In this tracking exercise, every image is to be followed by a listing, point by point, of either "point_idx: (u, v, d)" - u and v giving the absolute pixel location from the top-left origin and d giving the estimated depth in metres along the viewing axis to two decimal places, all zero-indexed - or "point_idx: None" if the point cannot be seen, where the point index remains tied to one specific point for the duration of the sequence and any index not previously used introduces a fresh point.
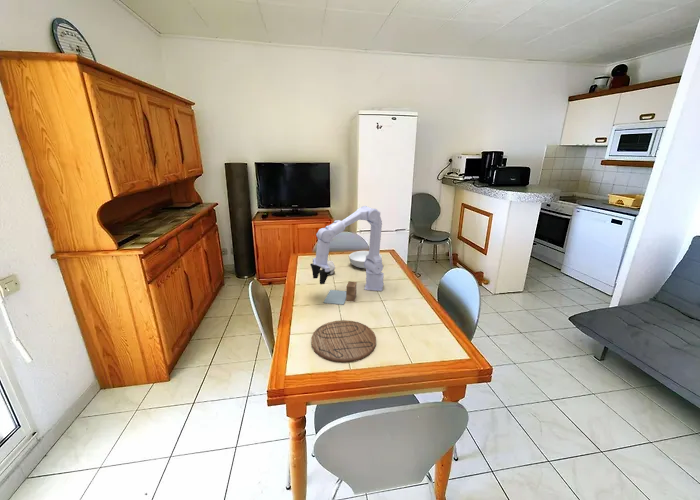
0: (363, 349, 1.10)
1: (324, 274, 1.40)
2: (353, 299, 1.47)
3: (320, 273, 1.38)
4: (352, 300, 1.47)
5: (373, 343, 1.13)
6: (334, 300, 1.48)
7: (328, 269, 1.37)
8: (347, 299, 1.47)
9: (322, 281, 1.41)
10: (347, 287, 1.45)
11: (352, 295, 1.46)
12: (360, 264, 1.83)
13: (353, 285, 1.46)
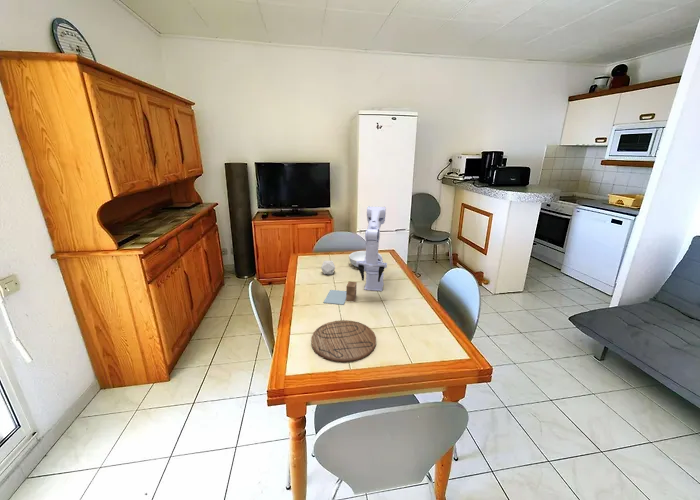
0: (363, 349, 1.10)
1: None
2: (353, 299, 1.47)
3: (381, 271, 1.41)
4: (352, 300, 1.47)
5: (373, 343, 1.13)
6: (334, 300, 1.48)
7: (386, 265, 1.43)
8: (347, 299, 1.47)
9: (379, 278, 1.45)
10: (347, 287, 1.45)
11: (352, 295, 1.46)
12: None
13: (353, 285, 1.46)
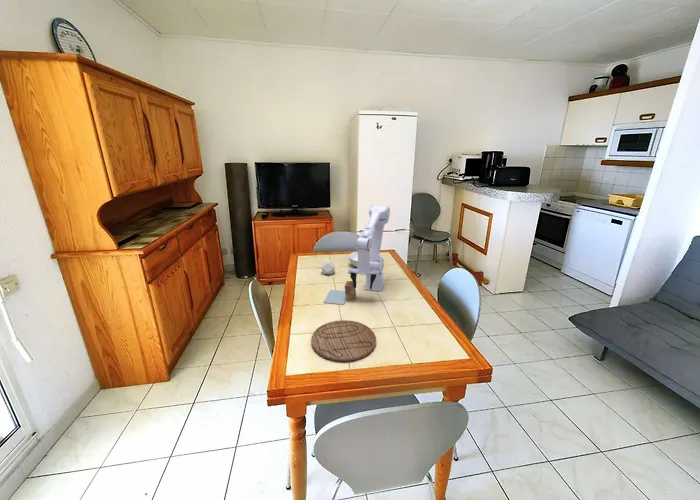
0: (363, 349, 1.10)
1: None
2: (353, 298, 1.47)
3: (373, 279, 1.42)
4: (352, 299, 1.47)
5: (373, 343, 1.13)
6: (334, 300, 1.48)
7: (378, 272, 1.44)
8: (347, 299, 1.47)
9: (371, 286, 1.46)
10: (345, 287, 1.46)
11: (351, 294, 1.46)
12: None
13: (351, 284, 1.46)
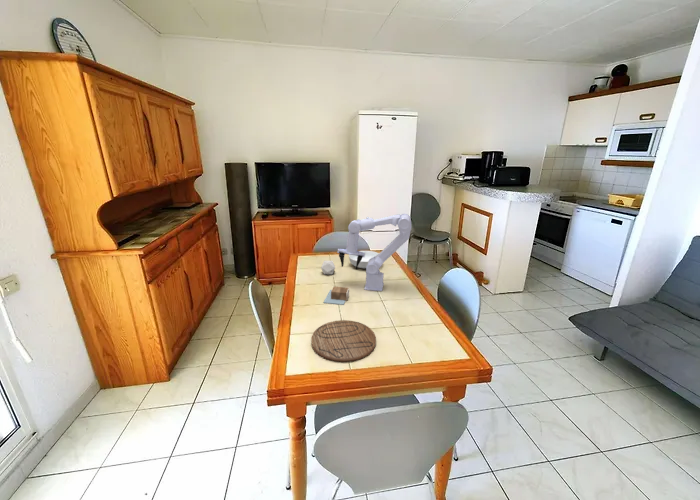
0: (363, 349, 1.10)
1: None
2: (344, 293, 1.47)
3: (359, 260, 1.57)
4: (345, 294, 1.47)
5: (373, 343, 1.13)
6: (334, 300, 1.48)
7: (364, 254, 1.59)
8: (345, 299, 1.48)
9: (357, 266, 1.61)
10: (332, 298, 1.49)
11: (339, 294, 1.47)
12: (360, 264, 1.83)
13: None
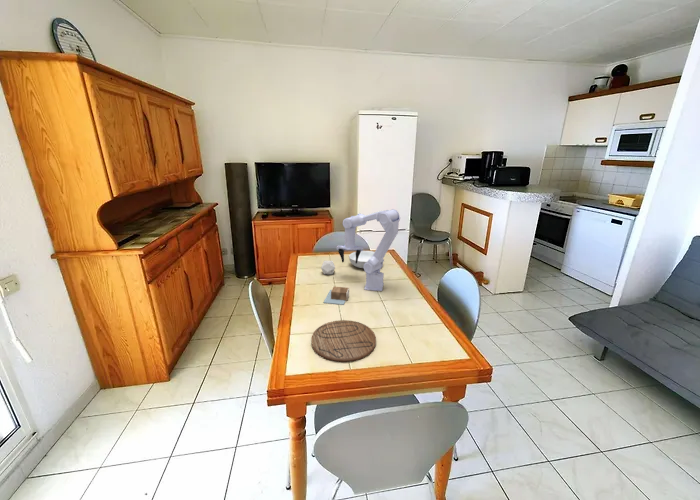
0: (363, 349, 1.10)
1: None
2: (344, 293, 1.47)
3: (358, 254, 1.64)
4: (345, 294, 1.47)
5: (373, 343, 1.13)
6: (334, 300, 1.48)
7: (362, 248, 1.66)
8: (345, 299, 1.48)
9: (357, 260, 1.68)
10: (332, 298, 1.49)
11: (339, 294, 1.47)
12: (360, 264, 1.83)
13: None
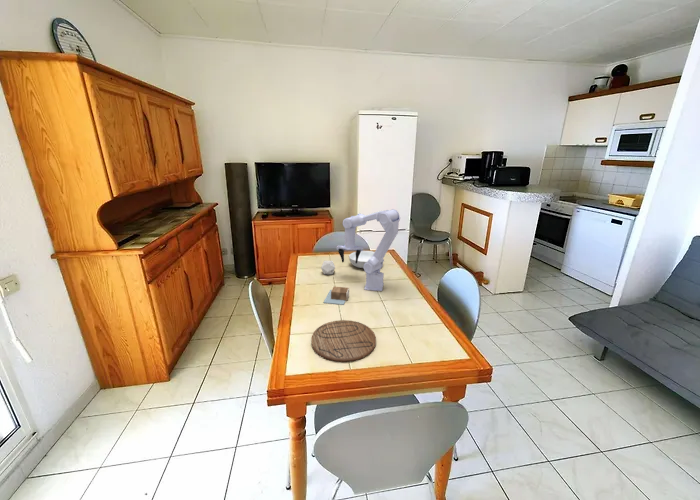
0: (363, 349, 1.10)
1: None
2: (344, 293, 1.47)
3: (358, 254, 1.64)
4: (345, 294, 1.47)
5: (373, 343, 1.13)
6: (334, 300, 1.48)
7: (362, 248, 1.66)
8: (345, 299, 1.48)
9: (357, 260, 1.68)
10: (332, 298, 1.49)
11: (339, 294, 1.47)
12: (360, 264, 1.83)
13: None
